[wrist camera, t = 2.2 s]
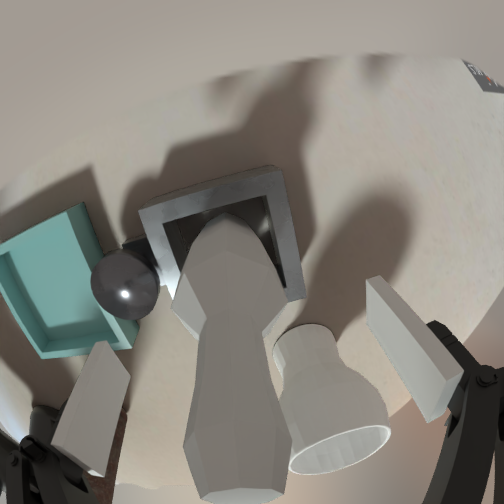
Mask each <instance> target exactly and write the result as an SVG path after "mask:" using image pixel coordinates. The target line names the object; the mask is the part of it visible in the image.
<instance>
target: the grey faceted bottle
mask: <svg viewBox="0 0 504 504" xmlns="http://www.w3.org/2000/svg"><path fill="white" fill-rule="evenodd" d="M287 303H288V300H287V297H286V295H285V292H284V289H283V287H282V284H281V282H280V279H279V276H278V274H277V271H276V269H275V267H274V265H273V263H272V261H271V260H270V258H269V256H268V254H267V252H266V250H265V248H264V246H263V245H262V243H261V241H260V239H259V238H258V237H257V236H256V234H255V233H254V232H253V230H252V229H251V228H250V227H249V225H248V224H247V223H246V221H245V220H244V219H241V218H239V217H236V216H234V215H232V214H229V213H227V212H225V213H223V214H221V215H219V216H217V217H215V218H214V219H212V220H210V221H208V222H207V223H206V225H205V226H204V228H203V229H202V231H201V232H200V233H199V235H198V236H197V238H196V239H195V241H194V242H193V243H192V246H191V248H190V251H189V253H188V256H187V258H186V261H185V264H184V266H183V269H182V272H181V274H180V277H179V281H178V284H177V288H176V291H175V295H174V298H173V302H172V306H171V309H172V311H173V312H174V313H175V314H176V316H177V317H178V318H179V320H180V321H181V322H182V323H183V325H184V326H185V327H186V328H187V329H188V331H189V332H190V333H191V334H192V336H193V337H194V338H195V339H196V340H198V341H199V344H198V356H197V368H196V381H195V388H194V393H193V398H192V403H191V408H190V413H189V418H188V423H187V428H186V434H185V439H184V444H183V449H184V452H185V455H186V458H187V461H188V464H189V468H190V471H191V474H192V476H193V479H194V482H195V485H196V488H197V491H198V493H199V496H200V499H202V500H205V501H208V502H211V503H214V504H261V503H266V502H270V501H272V500H274V499H276V498H278V497H280V496H281V495H283V494H284V491H285V485H286V479H287V474H288V468H289V461H290V455H291V448H292V438H291V435H290V432H289V429H288V427H287V424H286V421H285V418H284V415H283V412H282V409H281V407H280V404H279V401H278V398H277V395H276V392H275V389H274V386H273V383H272V381H271V376H270V371H269V366H268V361H267V356H266V351H265V346H264V341H263V338H265V337H266V336H267V335H268V334H269V333H270V331H271V329H272V328H273V326H274V324H275V323H276V321H277V320H278V318H279V316H280V315H281V313H282V311H283V310H284V308H285V306H286V305H287Z"/></svg>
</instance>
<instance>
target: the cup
mask: <svg viewBox="0 0 504 504" xmlns="http://www.w3.org/2000/svg"><path fill="white" fill-rule="evenodd" d="M273 357H274V361H275V363H276V366H277V368H278V370H279V372H280V374H281V376H282V379H283V392H282V394H281V396H280V399H279V404H280V407H281V409H282V412H283V415H284V418H285V421H286V424H287V427H288V429H289V432H290V435H291V438H292V448H291V455H290V461H289V468H288V469H289V470H290V471H292V472H294V473H297V474H301V475H315V474H323V473H328V472H332V471H336V470H339V469H343V468H346V467H348V466H351V465H353V464H356V463H358V462H360V461H362V460H363V459H365V458H367V457H369V456H370V455H372V454H373V453H375V452H376V451H377V450H379V449H380V448H381V447H382V446H383V445H384V444H385V443H386V441H387V440H388V439H389V437H390V434H391V428H390V423H389V417H388V412H387V408H386V404H385V402H384V401H383V399H382V397H381V395H380V393H379V391H378V389H377V388H375V387H374V386H373V385H372V384H371V383H370V382H369V381H368V380H367V379H365V378H364V377H363V376H362V375H361V374H360V373H359V372H357V371H355V370H353V369H351V368H349V367H347V366H346V365H345V363H344V362H343V361H342V359H341V358H340V357H339V353H338V348H337V344H336V341H335V338H334V336H333V334H332V332H331V331H330V330H329V329H328V328H326V327H324V326H322V325H317V324H305V325H301V326H298V327H295V328H293V329H291V330H289V331H287V332H286V333H285V334H283V335H282V336H281V337H280V338H279V340H278V341H277V342H276V344H275V346H274V348H273Z"/></svg>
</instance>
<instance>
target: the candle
mask: <svg viewBox="0 0 504 504" xmlns="http://www.w3.org/2000/svg"><path fill="white" fill-rule="evenodd" d="M126 423H127V414H126V412H125V410H124V409H123V408H121V411H120V415H119V419H118V422H117V426H116V430H115V434H114V438H113V442H112V446H111V450H110V454H109V459H108V463H107V468H106V472H105V477H100V476H94V475H91V474H90V473H88V472H87V471H85V470H83V473H82V474H84V475H85V476H86V478H87V479H88V482H89V484H90V486H91V488H92V490H93V492H94V494H95V496H96V497H97V499H98V501H99V503H100V504H112V499H113V493H114V486H115V480H116V474H117V469H118V462H119V457H120V453H121V447H122V442H123V438H124V433H125V428H126Z"/></svg>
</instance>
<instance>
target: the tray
mask: <svg viewBox="0 0 504 504" xmlns="http://www.w3.org/2000/svg"><path fill="white" fill-rule="evenodd" d="M103 256H104V254H103V252H102V249H101V247H100V244H99V242H98V240H97V237H96V234H95V232H94V229H93V227H92V224H91V221H90V219H89V216H88V213H87V210H86V208H85V205H84V202H82V203H80V204H78V205H76V206H73V207H71V208H69V209H67V210H65V211H62V212H60V213H58V214H56V215H54V216H52V217H50V218H48V219H46V220H44V221H42V222H40V223H38V224H36V225H34V226H32V227H30V228H28V229H26V230H24V231H22V232H20V233H19V234H17V235H15V236H13V237H11V238H9V239H8V240H6V241H4V242H2V243H1V244H0V292H1V294H2V296H3V298H4V299H5V301H6V303H7V305H8V307H9V309H10V310H11V312H12V314H13V316H14V317H15V319H16V321H17V322H18V324H19V326H20V327H21V329H22V331H23V332H24V334H25V335H26V337H27V338H28V340H29V341H30V343H31V344H32V346H33V347H34V349H35V350H36V352H37V353H38V354H39V356H40V357H41V359H49V358H60V357H69V356H78V355H87V354H90V352H91V350H92V348H93V346H94V345H95V343H96V342H100V341H106V340H107V342H108V343H109V345H110V347H111V348H112V350H113V351H116V350H123V349H130V348H132V347H133V344H134V342H135V339H136V336H137V333H138V331H139V326H138V324H137V322H136V321H135V320H125V319H120V318H118V317H115V316H113V315H111V314H110V313H108V312H107V311H105V310H104V309H103V308H102V307H101V306H100V305H99V303H98V302H97V301H96V299H95V297H94V295H93V293H92V290H91V284H90V279H91V273H92V271H93V269H94V267H95V266H96V264H97V263H98V262H99V261H100V260H101V259H102V258H103Z"/></svg>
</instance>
